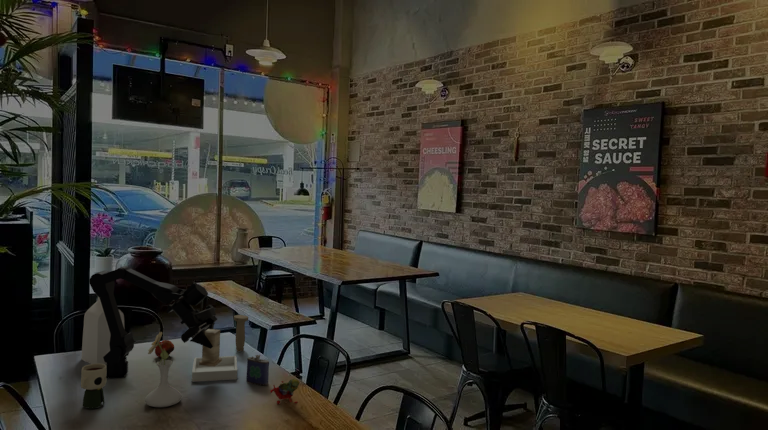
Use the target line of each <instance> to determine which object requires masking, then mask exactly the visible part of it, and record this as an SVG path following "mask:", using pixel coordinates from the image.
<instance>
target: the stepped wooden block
mask: <svg viewBox="0 0 768 430" xmlns="http://www.w3.org/2000/svg"><path fill="white" fill-rule="evenodd" d="M205 335H206V337H207V338H208V340H209V341H210V343H211V344H212V346H213V347H212V348H211V349H210V348H208V347H205V346H203V345H201V347H202V348H201V349H202V351H201V353H202V354H201V358H202V361H200V362H199V365H205V366H216V365H217V364H219V363H220V362H221V361H222V358H219V357H220V351H221V349H220V348H221V346H220V345H221V329H217V328H216V329H215V328H213V329H207V330H206V331H205Z"/></svg>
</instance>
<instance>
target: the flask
mask: <svg viewBox="0 0 768 430" xmlns="http://www.w3.org/2000/svg"><path fill="white" fill-rule="evenodd" d="M261 357H262V356H261V354H255V355H254V356H250V357H247V360H246V361H247V363H246V376H245V377H246V378H245V379H246V380H245V381H246V383H248V384H252V385H256V386H264V387H266V386H268V385H269V375H270V373H269V370H270V360H268V359H260V358H261Z"/></svg>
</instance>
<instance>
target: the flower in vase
mask: <svg viewBox="0 0 768 430" xmlns="http://www.w3.org/2000/svg"><path fill="white" fill-rule="evenodd" d="M162 335H163V332H162V331H159V333H158V334H157V335H156V336H155V339H154V341H153V342H151V346H150V347H149V349H147V351H148V352H147V354H148V355H151V354H152V353H153V352H154V351H155V348H156V346H158V345H159V347H160V349H161V350H162V348H161V346H160V344H159V341H160V342H161V338H162ZM160 356H161V358H160V361H159V360H158V361H157V362H156V363H155V364H156V366H157V367H158V369H159V372H160V373H159V374H160V375H159V376H160V379H159V380H160V381H159V384H158V385H157V387H155V388H154V389H153V390H152V391H150V392H149V393H148V394H147V395H146V396H145V398H144V402H145V404H146V405H147V406H149V407H154V408H166V407H171V406H173V405H176V404H178V403H179V402H180V401H181V400H182V398H183V395H182V392H180V391H179V390H178V389H177V388H175V387H173V386H171V384H169V379H168V377H169V370H170V367H171V365H172V364H173V360H170V359H168V358H169V356H168V354H167V352H166V351H165V349H164V350H162V353H161V354H160Z"/></svg>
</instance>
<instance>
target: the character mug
mask: <svg viewBox="0 0 768 430" xmlns="http://www.w3.org/2000/svg"><path fill="white" fill-rule="evenodd" d="M106 373H107V364H99V363H97V364H90V363H89V364H86V365H83V366H82V367H81V373H80V374H81V376H80V377H81V379H80V388H81V389H84V393H83V394H84V395H83V399H82V407H83V408H86V409H91V410H93V409H98V408H101V407H102V405H103V406H104V405H105V403H106V401H105V393H104V389H103V388H104V387H105V386H106V385H107V379H108V378H106Z"/></svg>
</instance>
